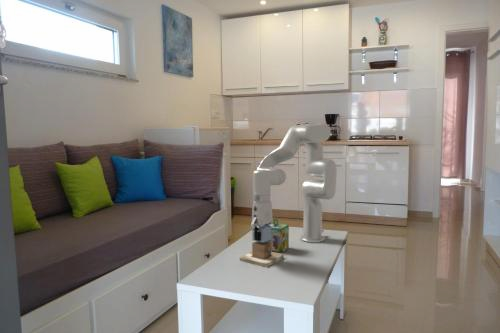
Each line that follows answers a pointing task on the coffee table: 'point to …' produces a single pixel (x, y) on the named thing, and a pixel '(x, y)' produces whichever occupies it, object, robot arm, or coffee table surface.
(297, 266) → the coffee table surface
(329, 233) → the coffee table surface
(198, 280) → the coffee table surface
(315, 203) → the robot arm
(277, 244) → the chalk box
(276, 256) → the tan square board
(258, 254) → the walnut cube
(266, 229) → the slate cube
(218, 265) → the coffee table surface
